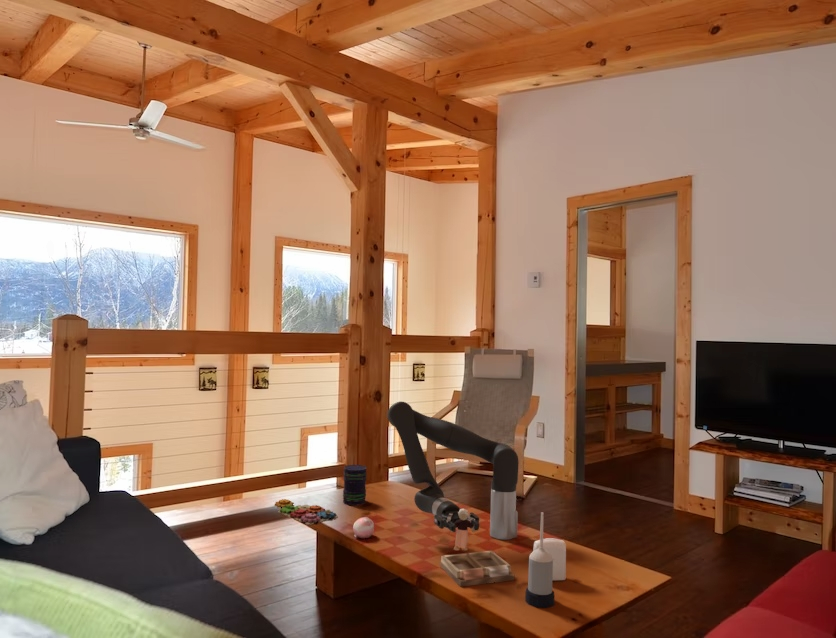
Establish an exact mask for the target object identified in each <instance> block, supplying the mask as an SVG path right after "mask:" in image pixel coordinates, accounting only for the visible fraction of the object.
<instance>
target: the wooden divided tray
mask: <svg viewBox="0 0 836 638" xmlns="http://www.w3.org/2000/svg"><path fill="white" fill-rule="evenodd" d="M440 557H441V558H440V565H439V566H440V568H441V569H443V570H444V572H445V573H446V574H447V575H448V576H449V577H450V578H451V579H452V580H453V581H454V582H455V583H456V584H457V585H458V586H459V587H460V588H461V587H469V586H477V585H485V584H486V583H487V584H494V582H495V583H500V582H508V581H509V582H510V580H511V581H515V574H514V573H512V572H511V564H509V563H508V562H507V561H506V560H504V559H503V558H502V557H501V556H499V555H498V554H497V553H495V552H494V550H486V551H477V552H476V551H475V552H465V553H457V554H445V555H441V556H440Z"/></svg>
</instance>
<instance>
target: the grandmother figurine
mask: <svg viewBox="0 0 836 638" xmlns="http://www.w3.org/2000/svg"><path fill="white" fill-rule="evenodd" d="M458 514H459V518H460V519H459V520H457V521H456V522H455V523H454V524H455V525H456V532H455V541H454V547H453V550H454V551H460V550H462V551H468V542H469V528H470V530H471V531H472V533H475V532H476V530H475V529H474V525H473V524H472V523H471V522H470V520H469V521H468V520H466V519H467V517H468V516H469V515H470V512H469V511H468V510H467V509H466V508H460V510H459V512H458ZM449 532H450V533H453V532H452V531H450V530H449Z"/></svg>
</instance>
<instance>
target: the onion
mask: <svg viewBox="0 0 836 638" xmlns="http://www.w3.org/2000/svg"><path fill="white" fill-rule="evenodd" d="M352 526H353V527H352V530H353V533H354V535H353V536H354V537H355V538H356V539H357V540H358V539H359V538H360V539H365V538H366V539H368V538H371V537H372V535H373V533H374V530H375V523H374V521H373V520H372V519H371V518H369V517H367V516H363V517H360V518H358V519H356V521H354V524H353V525H352Z"/></svg>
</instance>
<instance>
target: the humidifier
mask: <svg viewBox="0 0 836 638" xmlns="http://www.w3.org/2000/svg"><path fill="white" fill-rule="evenodd" d="M539 525H540V527H539V528H540V530H539V540H540V547H539V548H538V549H536V550H534V551H532V552H531V553H529V557H528V578H527V579H528V580H527V581H528V582H527V583H528V585H527V587H526V588H525V597H524V598H525V602H526V604H527V605H528V606H531V607H535V608H537V609H539V608H541V609H548V608H551V607H553V606H554V605H555V591H554V590H553V580H552V579H553V558H552V556H551V555H550V553H549V552H548V551H546V550H544V548H543V539H544V512H540V524H539Z"/></svg>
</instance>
